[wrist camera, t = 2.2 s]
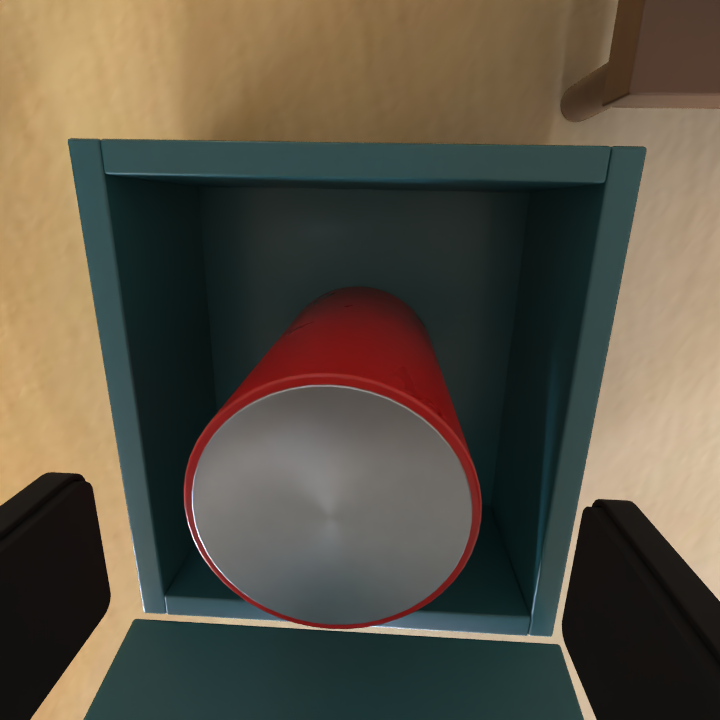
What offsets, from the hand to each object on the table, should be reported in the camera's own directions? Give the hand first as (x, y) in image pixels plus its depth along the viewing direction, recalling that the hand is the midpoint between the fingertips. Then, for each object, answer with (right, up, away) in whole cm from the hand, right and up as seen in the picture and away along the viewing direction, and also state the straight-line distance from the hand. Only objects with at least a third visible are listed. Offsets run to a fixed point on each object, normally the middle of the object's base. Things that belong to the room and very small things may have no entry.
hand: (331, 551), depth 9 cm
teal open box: (+1, +4, +11) cm, 11 cm away
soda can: (+1, +4, +10) cm, 11 cm away
